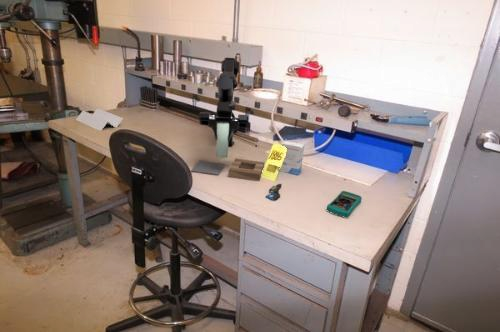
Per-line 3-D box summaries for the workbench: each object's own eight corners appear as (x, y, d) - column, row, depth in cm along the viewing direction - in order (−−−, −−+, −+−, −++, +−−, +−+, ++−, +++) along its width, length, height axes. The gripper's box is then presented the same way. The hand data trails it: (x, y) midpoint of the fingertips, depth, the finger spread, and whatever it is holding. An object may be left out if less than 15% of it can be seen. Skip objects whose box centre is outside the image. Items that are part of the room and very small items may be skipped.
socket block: (235, 165, 142) (235, 158, 141) (263, 168, 141) (264, 162, 139) (228, 176, 131) (228, 169, 130) (259, 181, 130) (260, 173, 129)
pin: (220, 152, 137) (221, 121, 131) (229, 155, 135) (231, 123, 130) (214, 156, 133) (215, 123, 128) (223, 158, 131) (225, 126, 126)
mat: (199, 161, 143) (199, 160, 143) (225, 164, 142) (225, 163, 142) (190, 171, 133) (190, 170, 133) (218, 175, 132) (218, 174, 132)
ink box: (301, 171, 141) (305, 144, 136) (297, 175, 137) (301, 147, 132) (282, 166, 144) (285, 139, 140) (277, 170, 140) (280, 143, 135)
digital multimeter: (324, 212, 112) (326, 204, 111) (341, 196, 124) (342, 188, 123) (346, 220, 109) (348, 212, 108) (361, 202, 120) (362, 195, 119)
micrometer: (275, 198, 116) (262, 194, 118) (275, 203, 116) (262, 198, 119) (290, 185, 125) (277, 181, 127) (289, 189, 126) (277, 185, 128)
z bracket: (109, 137, 176) (100, 130, 171) (84, 126, 190) (75, 119, 185) (123, 118, 179) (114, 111, 174) (97, 108, 193) (89, 101, 188)
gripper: (199, 90, 128) (195, 128, 122) (249, 94, 128) (247, 131, 123) (202, 106, 138) (198, 141, 132) (248, 109, 139) (246, 144, 133)
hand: (222, 139), depth 130 cm, fingers closed on pin, 4 cm apart
